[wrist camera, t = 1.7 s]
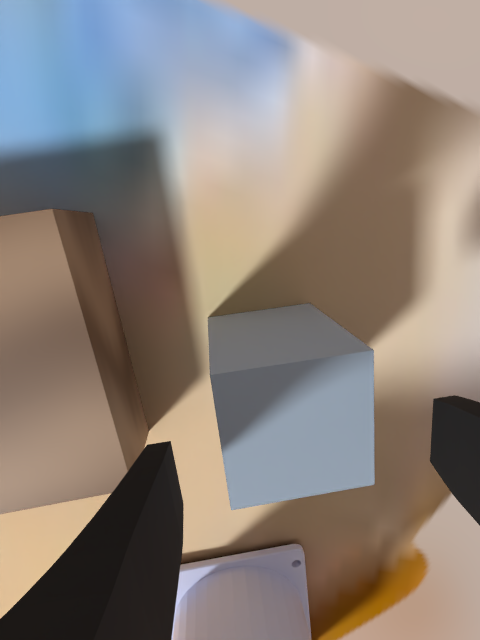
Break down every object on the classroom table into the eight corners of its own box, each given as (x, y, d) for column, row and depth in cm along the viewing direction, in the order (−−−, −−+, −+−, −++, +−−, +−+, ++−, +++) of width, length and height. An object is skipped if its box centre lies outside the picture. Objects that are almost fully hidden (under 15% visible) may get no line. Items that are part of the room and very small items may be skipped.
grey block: (315, 394, 16) (374, 484, 11) (221, 409, 16) (231, 510, 10) (309, 302, 15) (373, 350, 9) (207, 317, 15) (209, 375, 9)
